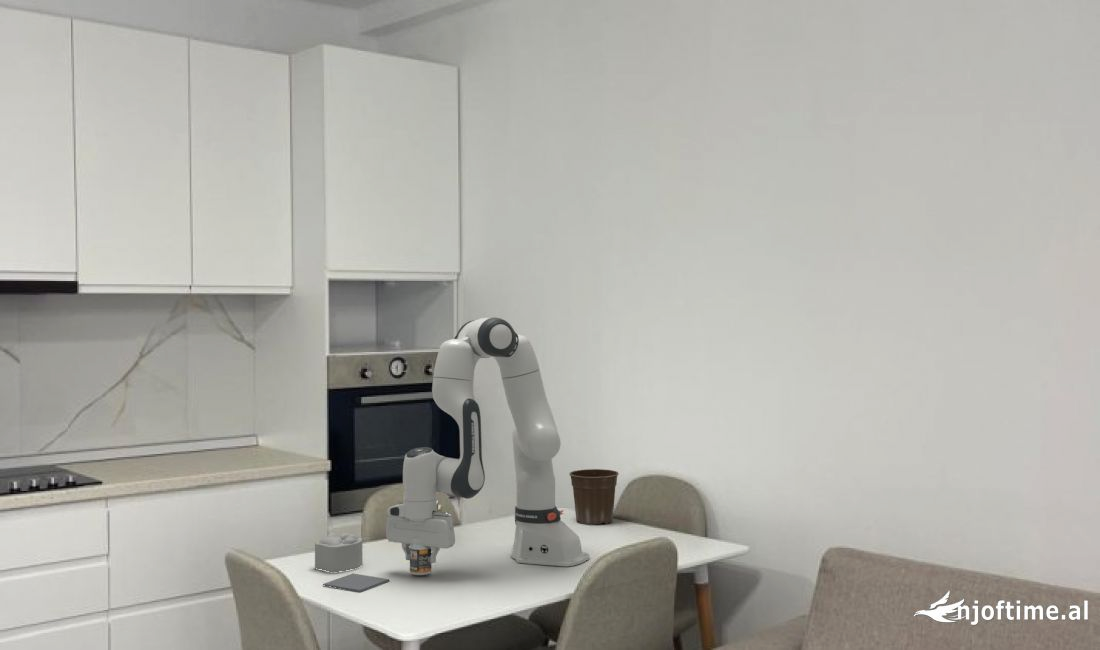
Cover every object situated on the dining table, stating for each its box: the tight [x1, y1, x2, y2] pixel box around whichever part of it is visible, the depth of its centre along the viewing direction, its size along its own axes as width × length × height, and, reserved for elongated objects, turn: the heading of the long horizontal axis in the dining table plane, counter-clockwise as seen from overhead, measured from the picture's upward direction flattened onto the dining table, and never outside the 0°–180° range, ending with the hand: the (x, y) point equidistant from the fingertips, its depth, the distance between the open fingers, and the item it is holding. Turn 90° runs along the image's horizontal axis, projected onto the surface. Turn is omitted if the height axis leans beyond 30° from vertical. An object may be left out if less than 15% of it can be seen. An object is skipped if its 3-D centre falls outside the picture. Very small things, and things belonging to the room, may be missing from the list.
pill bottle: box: [409, 537, 433, 576], centre depth 287 cm, size 6×6×10 cm
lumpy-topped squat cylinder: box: [314, 532, 363, 572], centre depth 296 cm, size 10×13×9 cm
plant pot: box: [569, 468, 620, 525], centre depth 356 cm, size 16×16×16 cm
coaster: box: [322, 573, 390, 593], centre depth 278 cm, size 12×12×1 cm
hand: (420, 561), depth 287 cm, fingers closed on pill bottle, 6 cm apart
